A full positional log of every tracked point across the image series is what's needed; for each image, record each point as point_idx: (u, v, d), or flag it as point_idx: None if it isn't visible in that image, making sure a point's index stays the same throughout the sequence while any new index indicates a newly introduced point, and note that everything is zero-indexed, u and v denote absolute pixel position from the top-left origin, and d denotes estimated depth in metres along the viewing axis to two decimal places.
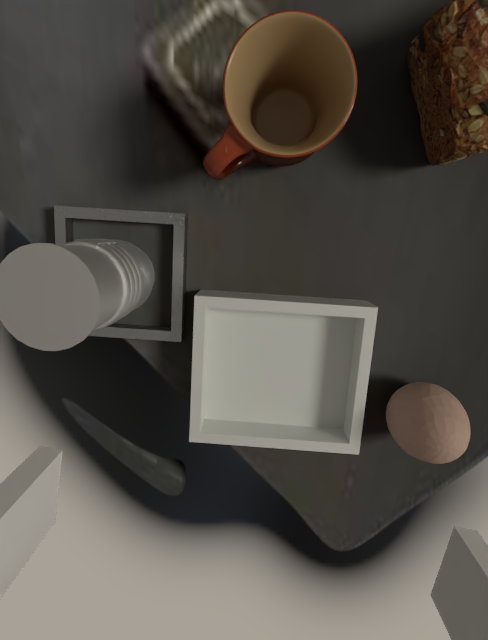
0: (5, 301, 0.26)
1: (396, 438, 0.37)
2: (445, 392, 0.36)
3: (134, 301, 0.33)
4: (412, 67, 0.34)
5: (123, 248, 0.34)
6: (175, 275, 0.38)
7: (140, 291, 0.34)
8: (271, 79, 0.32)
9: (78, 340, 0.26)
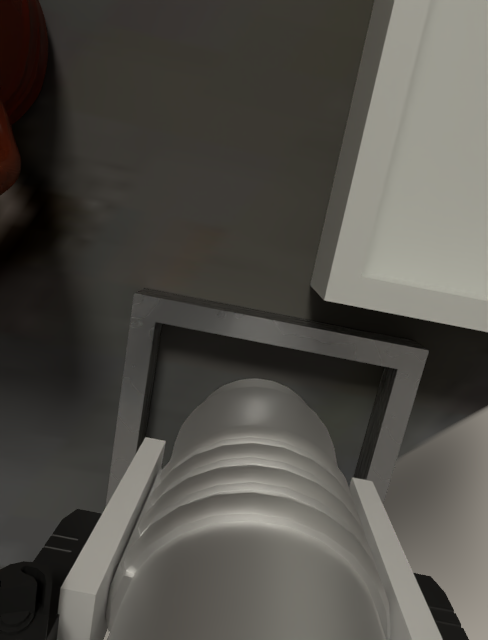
0: None
1: None
2: None
3: (316, 470, 0.12)
4: None
5: (174, 460, 0.13)
6: (268, 337, 0.17)
7: (291, 441, 0.13)
8: None
9: None
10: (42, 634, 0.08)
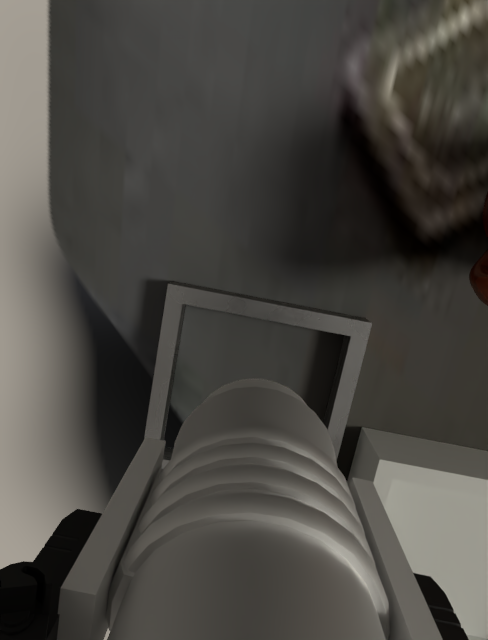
0: None
1: None
2: None
3: (315, 470, 0.12)
4: None
5: (174, 460, 0.13)
6: (337, 410, 0.25)
7: (291, 441, 0.13)
8: None
9: None
10: (42, 634, 0.08)
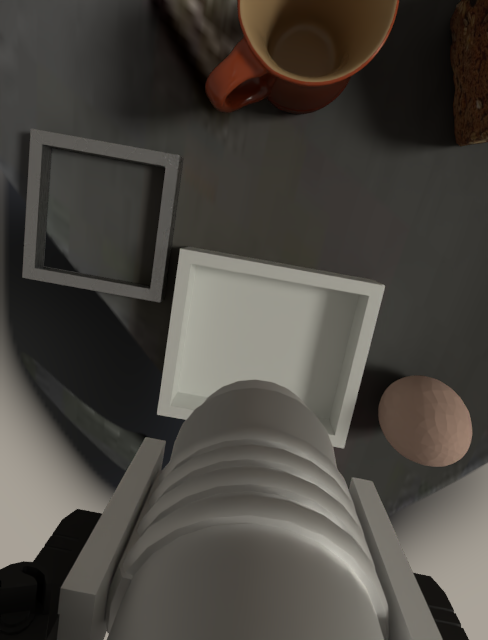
0: None
1: (388, 434, 0.33)
2: (448, 388, 0.32)
3: (315, 472, 0.12)
4: (456, 27, 0.30)
5: (173, 462, 0.13)
6: (161, 225, 0.34)
7: (290, 443, 0.13)
8: (295, 3, 0.28)
9: None
10: (42, 634, 0.08)
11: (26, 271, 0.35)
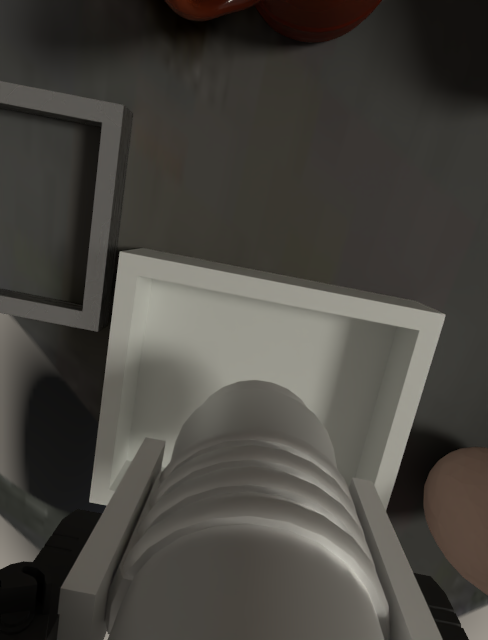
0: None
1: (444, 546, 0.21)
2: None
3: (315, 473, 0.12)
4: None
5: (174, 462, 0.13)
6: (97, 215, 0.22)
7: (290, 443, 0.13)
8: None
9: None
10: (42, 634, 0.08)
11: None
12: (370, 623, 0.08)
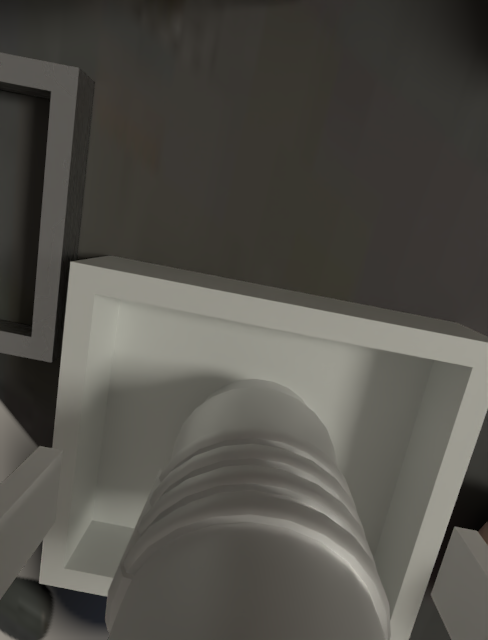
0: None
1: None
2: None
3: (316, 471, 0.12)
4: None
5: (174, 461, 0.13)
6: (48, 213, 0.17)
7: (291, 442, 0.13)
8: None
9: None
10: None
11: None
12: (371, 621, 0.08)
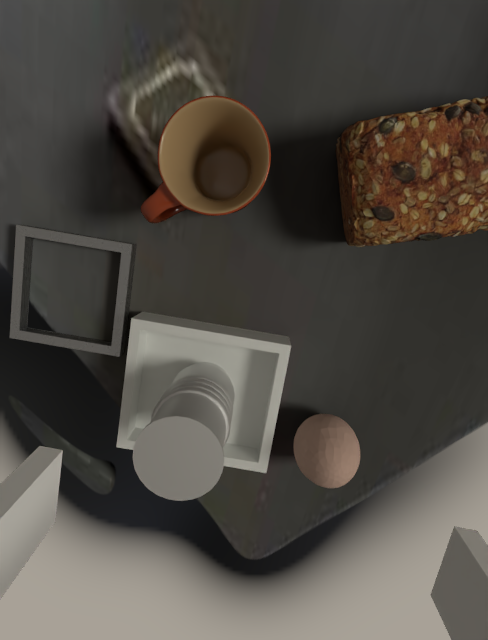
0: (177, 491, 0.31)
1: (297, 462, 0.41)
2: (343, 425, 0.41)
3: (213, 385, 0.37)
4: (337, 159, 0.39)
5: (170, 386, 0.39)
6: (119, 297, 0.43)
7: (208, 378, 0.38)
8: (212, 140, 0.37)
9: (216, 440, 0.30)
10: None
11: (12, 333, 0.44)
12: (217, 412, 0.34)
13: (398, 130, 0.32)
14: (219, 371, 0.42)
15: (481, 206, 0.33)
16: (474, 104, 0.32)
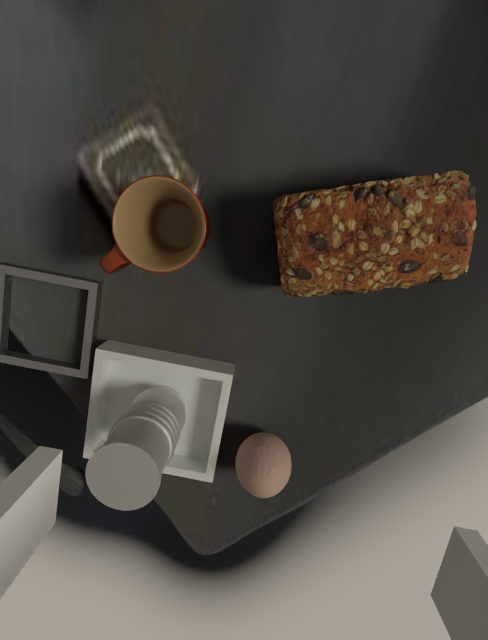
0: (123, 502, 0.37)
1: (237, 474, 0.48)
2: (276, 444, 0.48)
3: (162, 410, 0.44)
4: None
5: (126, 409, 0.45)
6: (86, 328, 0.49)
7: (159, 403, 0.45)
8: (165, 200, 0.43)
9: (153, 463, 0.36)
10: None
11: None
12: (161, 435, 0.41)
13: (314, 206, 0.38)
14: (172, 395, 0.48)
15: (382, 271, 0.39)
16: (378, 186, 0.38)
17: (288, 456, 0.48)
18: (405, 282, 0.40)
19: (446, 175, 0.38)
